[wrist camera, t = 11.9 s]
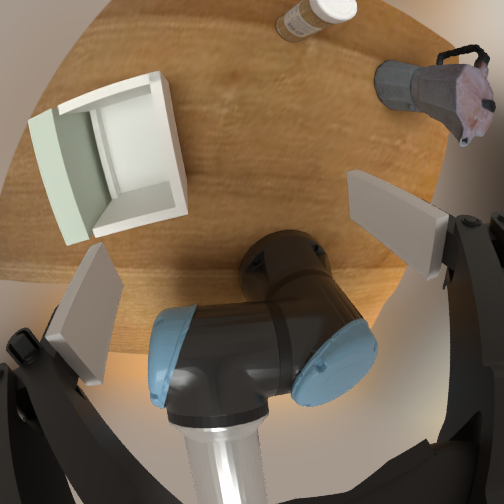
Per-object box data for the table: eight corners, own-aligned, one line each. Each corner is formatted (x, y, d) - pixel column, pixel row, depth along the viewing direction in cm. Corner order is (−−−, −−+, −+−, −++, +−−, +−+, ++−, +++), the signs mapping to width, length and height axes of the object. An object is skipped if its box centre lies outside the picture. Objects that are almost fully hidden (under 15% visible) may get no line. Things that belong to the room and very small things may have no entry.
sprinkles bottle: (312, 34, 29) (366, 13, 18) (286, 47, 30) (334, 25, 18) (294, 10, 27) (342, -22, 16) (268, 21, 27) (307, -12, 16)
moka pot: (362, 116, 37) (465, 142, 20) (377, 32, 30) (478, 21, 13) (405, 133, 39) (500, 167, 23) (419, 56, 32) (514, 63, 15)
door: (114, 200, 35) (89, 239, 25) (88, 208, 35) (58, 248, 25) (90, 105, 28) (51, 108, 18) (64, 116, 28) (19, 125, 18)
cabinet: (187, 181, 37) (188, 214, 27) (86, 209, 35) (55, 249, 25) (168, 82, 29) (159, 70, 19) (61, 117, 28) (16, 127, 17)
